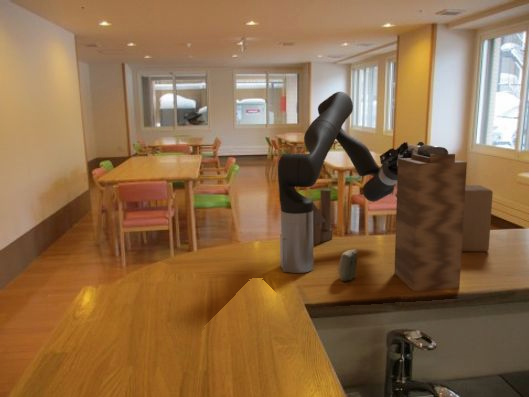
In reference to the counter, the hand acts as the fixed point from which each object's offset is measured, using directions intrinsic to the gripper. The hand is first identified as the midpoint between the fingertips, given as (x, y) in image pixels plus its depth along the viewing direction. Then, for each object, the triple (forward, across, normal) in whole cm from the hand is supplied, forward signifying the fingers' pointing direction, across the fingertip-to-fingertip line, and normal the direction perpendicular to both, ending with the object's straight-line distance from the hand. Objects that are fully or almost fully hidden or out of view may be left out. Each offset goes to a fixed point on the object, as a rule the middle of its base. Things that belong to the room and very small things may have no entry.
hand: (414, 144), depth 124 cm
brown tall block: (-8, 0, +36) cm, 37 cm away
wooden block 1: (-44, -20, +15) cm, 51 cm away
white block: (-12, -20, +34) cm, 41 cm away
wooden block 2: (-31, +26, +23) cm, 47 cm away
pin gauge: (+4, 0, +6) cm, 7 cm away
